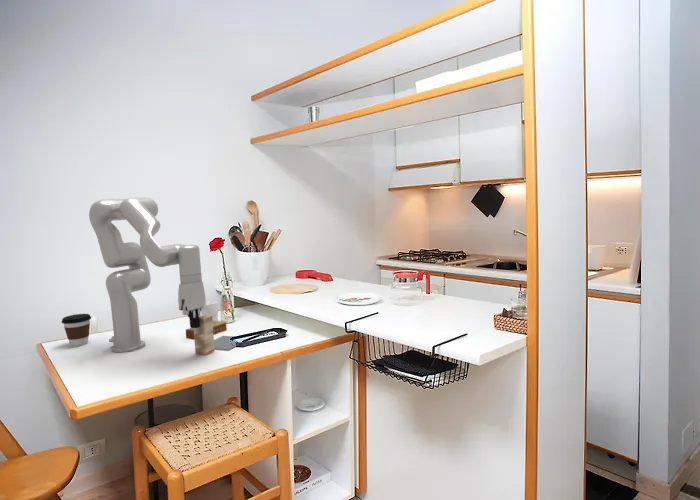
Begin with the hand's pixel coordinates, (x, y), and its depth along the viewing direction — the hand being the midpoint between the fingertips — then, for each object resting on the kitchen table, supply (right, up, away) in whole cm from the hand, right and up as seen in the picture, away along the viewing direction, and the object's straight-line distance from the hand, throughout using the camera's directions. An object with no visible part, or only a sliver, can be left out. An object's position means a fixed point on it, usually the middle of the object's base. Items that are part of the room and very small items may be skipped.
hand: (195, 327), depth 176 cm
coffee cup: (-57, -11, +24) cm, 63 cm away
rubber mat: (+7, -9, +16) cm, 20 cm away
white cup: (-9, -6, +50) cm, 51 cm away
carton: (-5, -9, +31) cm, 33 cm away
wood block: (+2, -11, +5) cm, 12 cm away
